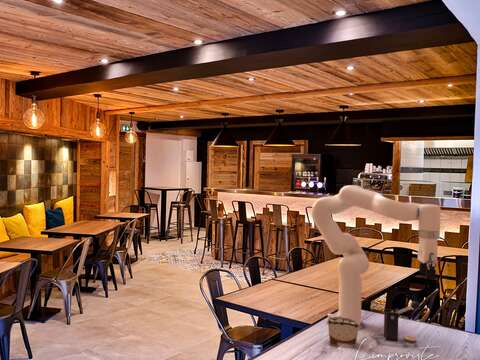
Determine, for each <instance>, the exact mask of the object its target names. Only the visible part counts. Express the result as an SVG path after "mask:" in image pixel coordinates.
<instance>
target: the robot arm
mask: <svg viewBox="0 0 480 360" xmlns="http://www.w3.org/2000/svg"><path fill="white" fill-rule="evenodd" d="M352 207H357V208H361V209H363V210H366V211H370V212H373V213H375V214H378V215H380V216H383V217H386V218H390V219H393V220H397V221H399V222H411V221H418V230H417V231H418V232H417V233H418V234H417V238H418V248H417V260H418V261H419V274H420V275H425V276H426V277H425V278H426V280H432V281H435V280H436V279H437V263H438V240H440V239H441V238H440V235H441V212H442V211H441V210H442V209H441V206H440V205H438V204H434V203H433V204H432V203H431V204H430V203H417V202H403V201H398V200H395V199H394V200H393V199H390V198H387V197H385V196H383V195H382V194H381V193H380V192H377V191H374V190H369V189H366V188H363V187H362V186H360V185H357V184H351V185H350V184H348V185H344V186H343V187H341V188H340V189H339V192H338V193H337V194H335V195H333V196H322V197H319V198H317V199H316V200H315V201H314V202H313V204H312V207H311V218H312V221H313V223H314V224H315V226H316V228H317V230H318V231H319V233H320V235H321V236H322V238H323V240H324V242H325V244H326V246H327V247H328V248H329V250H330V252H331V253H332V254H334V255H336V256H337V255H339V256H340V255H342V256H343V257H342V258H340V260H339V261H338V263H337V273H338V274H337V275H338V311H337V312H336V313H327V318H328V319H329V318H332V317H344V318H349V319H353V320H355V321H357V322H358V323H359V325H361V324H362V295H363V294H362V293H363V291H362V290H363V285H362V278H361V275H362V274H364V273H367V271H368V270H369V267H370V260H369V258H368V256H367V254H366V253H365V251H364V250H363V248H362V247H361V245H360V243H359V242H358V240H357V238H355V236H354V235H353V234H351V233H348V232H342V229H341V228H340V227H339V224H338V223H337V222H336V221H335V219H333V217H332V215H337V214H340V213H343V212H344V211H347V210H349V209H350V208H352Z"/></svg>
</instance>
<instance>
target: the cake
mask: <svg viewBox="0 0 480 360" xmlns="http://www.w3.org/2000/svg"><path fill="white" fill-rule="evenodd" d="M402 339H403V340H402V341H404V342H405V343H408V344H416V343H417V337H416V336H413V335H407V334H406V335H403V338H402Z"/></svg>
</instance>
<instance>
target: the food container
mask: <svg viewBox="0 0 480 360" xmlns="http://www.w3.org/2000/svg"><path fill="white" fill-rule="evenodd" d="M326 325H327V326H328V337H329V338H328V339H329V346H335V347H339V344H338V343H340V344H346V345H347V344H349V345H357V341H358V335H359V333H358V332H359V329H361V326H360V325H361V324H360V325H359V323H358V322H357V321H355V320H353V319H349V318H344V317H332V318H328V319H327V321H326Z"/></svg>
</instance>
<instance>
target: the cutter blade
mask: <svg viewBox="0 0 480 360" xmlns="http://www.w3.org/2000/svg"><path fill="white" fill-rule="evenodd" d="M420 308H421V305H420V303H419V301H415V300H413V301H412V302H411V303H410V305H408V306H406V307H404V308H401V309H398V310H396V313H399V314H398V315H401V314H402V313H405V312H408V311H410V310H412V309H413V310H419V309H420ZM391 312H393V311H391Z"/></svg>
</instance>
